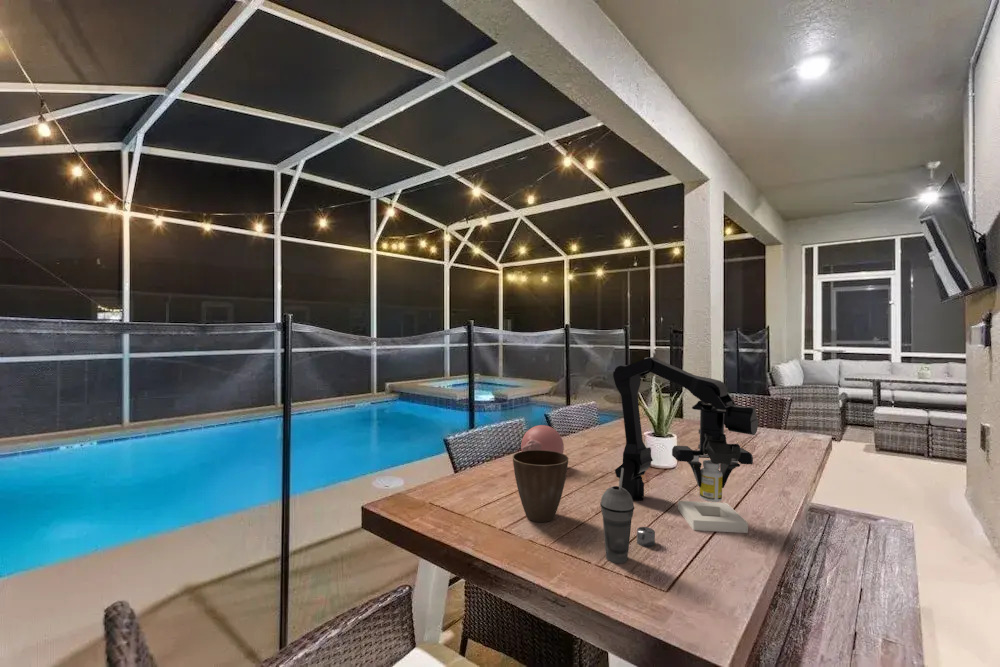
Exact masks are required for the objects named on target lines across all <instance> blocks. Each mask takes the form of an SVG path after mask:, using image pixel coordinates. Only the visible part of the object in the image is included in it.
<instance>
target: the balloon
mask: <svg viewBox="0 0 1000 667" xmlns="http://www.w3.org/2000/svg"><path fill="white" fill-rule="evenodd" d="M520 447H521V452H522V451H528V450H546V451H554V452H559V453H562V454H564V450H565V446H564V441H563V438H562V436H561V435H560V432H558V431H557V430H556V429H554V428H553V427H552V426H549V425H546V424H545V425H544V424H540V425H539V424H538V425H535V426H533V427H531V428H530V429H528V430H527V431H526V432H525V433H524V435H523V437H522V439H521V444H520Z"/></svg>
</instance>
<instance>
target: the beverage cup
mask: <svg viewBox="0 0 1000 667" xmlns="http://www.w3.org/2000/svg"><path fill="white" fill-rule="evenodd" d="M623 472H624V468H622V469H621V477H620V485H619V484H618V486H617V485H613V486H610V487H609V488H607V489H606V490H605V491H604V492H603V494H602V496H601V498H600V507H601V508H600V509H601V515H602V524H603V537H604V539H603V540H604V550H605V558H606V560H607V561H609V562H611V563H612V564H613V563H614V564H624V563H626V562H627V561H628V555H629V550H630V549H629V548H630V538H631V530H632V529H631V527H632V519H633V515H634V510H635V505H634V500H633V499H632V497H631V495H630V493H629V492H628V491H627V490H626V489H624V488H622V479H623Z"/></svg>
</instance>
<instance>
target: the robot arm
mask: <svg viewBox="0 0 1000 667" xmlns="http://www.w3.org/2000/svg"><path fill="white" fill-rule="evenodd" d="M650 373H652V374H654V375H656V376H659V377H661V378H663V379H664V380H666V381H667V380H668V382H672V383H673V384H676V385H678V386H680V387H682V388H685V390H687V391H689V392H690V394H691V395H692V396H694V397H695V398H697V399H698V401H697V402H696V403H695V404H694V405H693V406H691V409H692V410H695V411H700V413H699V414H700V416H699V421H700V422H699V429H698V434H699V443H698V445H697V446H698V447H697V448H698V449H692V448H690V447H689V446H688V445H674V446H673V447H672V449H671V456H672V457H673V458H674V459H675V460H676V461H678V462H686V463H687V464H688V465H689V466H690V468H691V471H692V472H693V473H692V474H693V476H694V479H695V481H696V484H697V486H698V487H699V488H700V487H701V469H702V468H701V467H702V466H703V463H702V462H700V459H704V458H705V459H709V460H711V462H712V463H714V464H720V468H719V470H720V471H721V472H722V489H724V488H725V486H726V485H727V482H728V479H729V477H730V475H731V473H732V471H733V470H734V469H736V468H739V467H740V466H741V465H753V463H754V457H753V454H752V453H751V452H750V451H748V450H746V449H745V448H743V447H741V445H740V444H739V443H727V437H726V434H725V429H727V430H728V432H732V433H734V432H735V433H738V434H745V435H752V436H755V435H756V433H757V432H758V428H759V419H758V415H757V413H756V407H755V406H742V405H741V406H740V405H737V404H736V403H735V401H734V400H733V398H732V396H730V393H729V391H728V387H727V385H726V384H725V383H724V382H723V381H721V380H718V379H715V378H711V377H706V376H700V375H695V374H692V373H690V372H689V371H688V372H687V371H686V370H684V369H681V368H679V367H677V366H674V365H671V364H670V363H668V362H665V361H663V360H660V359H658V358H657V357H655V356H653V357H652V356H651V357H644V358H643V359H641V360H638V361H636V362H633V363H631V364H627V365H626V364H624V365H619V366H616V367H615V369H614V370H613V372H612V378H613V381H614V385H615V388H616V389H617V391H618V393H619V394H620V397H621V398H620V399H621V407H622V416H623V426H624V433H625V434H624V436H625V445H624V449H623V452H622V464H621V465H619V466H618V467H617V468H616V469H614V474H615V476H616V478H618V481H619V482H618V486H619V485H620V477H621V469H622V468H624V472H623V479H622V488H624V489H626V490H627V491H628V492H629V493H630V495H631V497H632V499H633V501H644V496H645V483H644V481H643V477H642V476H645V475H646V471H648V470H649V469H650V468H651V465H652V462H653V461H654V459H653V457H652V448H651V447H646V445H645V443H644V441H643V434H642V433H643V432H642V422H641V415H640V407H639V397H638V395H639V394H638V393H639V391H640V387H641V377H644V376H647V375H649V374H650Z"/></svg>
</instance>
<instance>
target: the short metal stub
mask: <svg viewBox="0 0 1000 667" xmlns="http://www.w3.org/2000/svg"><path fill="white" fill-rule="evenodd" d="M655 539H656V530H654V529H653V528H651V527H646V526H639V527H637V529H636V544H638V545H639V546H640V547H644V548H653V547H655V544H656V542H655V541H656V540H655Z"/></svg>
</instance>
